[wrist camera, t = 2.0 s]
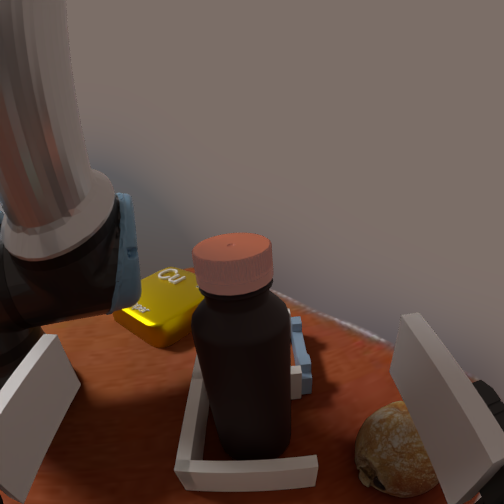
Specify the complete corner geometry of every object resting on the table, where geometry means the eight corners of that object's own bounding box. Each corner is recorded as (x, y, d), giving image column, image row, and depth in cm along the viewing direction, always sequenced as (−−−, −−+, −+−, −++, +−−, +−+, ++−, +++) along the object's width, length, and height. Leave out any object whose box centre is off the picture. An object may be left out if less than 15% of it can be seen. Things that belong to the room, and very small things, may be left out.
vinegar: (217, 465, 24) (162, 271, 17) (224, 413, 30) (190, 231, 23) (291, 465, 24) (290, 265, 16) (289, 412, 30) (284, 225, 22)
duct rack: (185, 490, 21) (173, 470, 20) (209, 338, 43) (205, 314, 42) (328, 484, 21) (333, 464, 20) (298, 332, 43) (298, 307, 41)
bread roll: (338, 469, 26) (321, 457, 21) (395, 392, 29) (392, 360, 25) (414, 513, 18) (420, 515, 14) (470, 426, 22) (488, 401, 17)
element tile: (110, 319, 50) (102, 294, 48) (174, 284, 61) (169, 262, 59) (161, 354, 41) (153, 326, 39) (232, 306, 52) (228, 280, 50)
